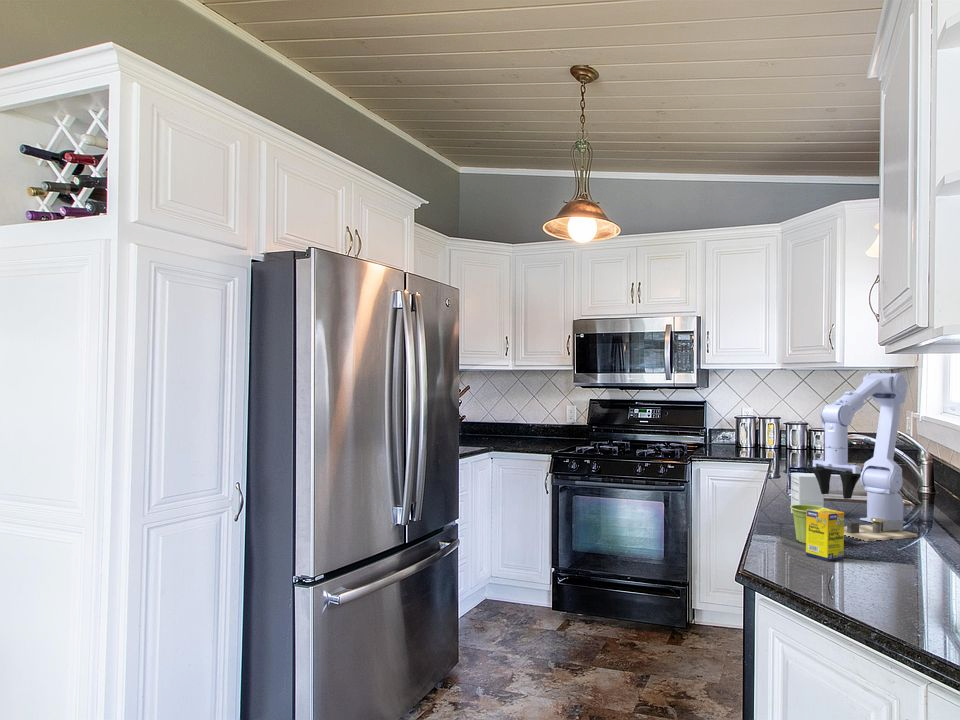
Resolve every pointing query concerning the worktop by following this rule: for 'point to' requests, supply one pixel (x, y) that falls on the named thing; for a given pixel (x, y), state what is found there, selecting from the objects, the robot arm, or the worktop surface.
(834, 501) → the worktop surface
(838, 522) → the supplement box
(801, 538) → the plant pot
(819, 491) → the supplement box
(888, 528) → the lock bar
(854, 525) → the jamb board
